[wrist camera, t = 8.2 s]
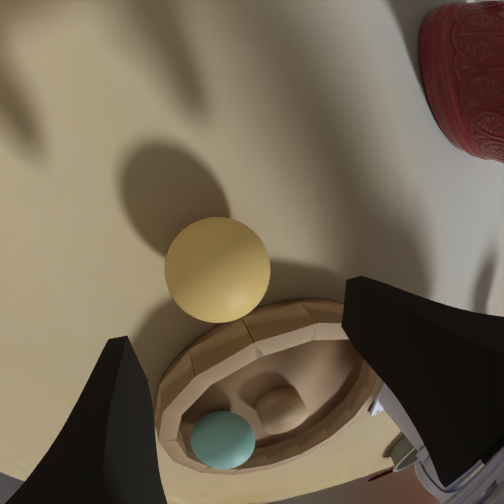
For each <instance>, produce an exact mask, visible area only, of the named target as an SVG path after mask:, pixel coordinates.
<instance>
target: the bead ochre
mask: <svg viewBox="0 0 504 504" xmlns="http://www.w3.org/2000/svg"><path fill="white" fill-rule="evenodd" d="M165 279H166V283H167V287H168V290H169V292H170V294H171V296H172V297H173V299H174V300H175V302H176V303H177V304H178V305H179V306H180V307H181V308H182V309H183V310H184V311H185V312H186V313H188V314H189V315H191V316H193V317H195V318H197V319H199V320H202V321H206V322H212V323H224V322H230V321H233V320H236V319H239V318H241V317H243V316H245V315H246V314H248V313H249V312H250V311H252V310H253V309H254V308H255V307H256V306H257V305H258V304H259V302H260V301H261V299H262V298H263V296H264V294H265V292H266V290H267V287H268V284H269V279H270V260H269V256H268V253H267V250H266V248H265V246H264V244H263V242H262V241H261V239H260V238H259V237H258V235H257V234H256V233H255V232H254V231H253V230H251V229H250V228H249V227H248V226H246V225H245V224H243V223H241V222H239V221H236V220H234V219H230V218H225V217H210V218H205V219H201V220H198V221H196V222H194V223H192V224H190V225H189V226H187V227H186V228H184V229H183V230H182V231H181V232H180V233H179V234H178V235H177V236H176V238H175V239H174V240H173V242H172V244H171V245H170V248H169V250H168V253H167V256H166V260H165Z"/></svg>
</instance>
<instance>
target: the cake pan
mask: <svg viewBox="0 0 504 504" xmlns="http://www.w3.org/2000/svg"><path fill="white" fill-rule="evenodd" d="M417 453H418V451H417V450H416V449H415V447H414V446H413V445H412V444H411V442H410V441H409V440H408V439H407V437H406V436H404V437H403V438H402V439H401V440H400V441H399V442H398V443H397V444H396V446H395V447H394V448H393V450H392V451H391V453H390V455H391V458H392V460H393V463H394V465H395V467H394V468H393V472H397V471H400V470H402V469H404V468H406V467H408V466H410V465H411V464H413V463H414V462H416V460H417V459H418V458H417V456H416V454H417Z"/></svg>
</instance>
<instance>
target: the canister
mask: <svg viewBox="0 0 504 504" xmlns="http://www.w3.org/2000/svg"><path fill="white" fill-rule="evenodd" d="M420 64H421V71H422V77H423V81H424V86H425V90H426V94H427V97H428V100H429V103H430V106H431V109H432V111H433V114H434V116H435V118H436V121H437V123H438V125H439V126H440V128H441V130H442V132H443V133H444V135H445V136H446V137H447V139H448V140H449V141H450V142H451V143H452V144H453V145H454V146H455V147H457V148H459V149H461V150H463V151H465V152H467V153H468V154H470V155H472V156H474V157H479V158H481V159H484V160H496V161H499V162H502V163H504V1H485V2H472V3H464V2H454V3H447V4H444V5H442V6H441V7H440V8H436V9H434V10H432V11H431V12H429V13H428V15H427V16H426V17H425V19H424V22H423V24H422V28H421V33H420Z"/></svg>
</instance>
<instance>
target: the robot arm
mask: <svg viewBox="0 0 504 504" xmlns="http://www.w3.org/2000/svg"><path fill="white" fill-rule="evenodd" d="M341 327H342V328H343V330H344V332H345V333H346V335H347V337H348V338H349V340H350V341H351V343H352V344H353V346H354V348H355V349H356V350H357V351H358V353H359V354H360V355H361V356H362V357H363V358H364V360H365V361H366V362H367V363H368V364H369V366H370V367H371V368H372V369H373V370H374V371H375V373H376V374H377V375H378V376H379V377H380V378H381V379H382V381H383V382H384V384H383V387H382V390H381V391H380V393H379V394H378V395H377V397H376V398H375V401H374V403H373V406H372V408H371V411H370V415H371V416H373V415H375V414H377V413H379V412H381V411H382V410H385V411H386V413H387V414H388V415H389V416H390V418H391V419H392V420H393V421H394V422H395V424H396V425H397V426H398V427H399V429H400V430H401V431H402V432H403V434H404V435H405V436H406V437H407V439H408V440H409V441H410V442H411V444H412V445H413V446H414V447H415V449H416V450H417V451H418V453H417V454H416V456H417V458H418V459H417V460H416V462H415V473H416V475H417V477H418V479H419V480H420V482H421V483H422V485H423V486H424V487H425V488H426V489H427V490H428V491H429V492H430V493H431V494H432V495H434V496H435V497H436V498H437V499H438V500H439V501H440V502H441V504H504V317H500V316H493V315H486V314H480V313H475V312H471V311H467V310H462V309H458V308H454V307H451V306H447V305H444V304H441V303H438V302H435V301H432V300H429V299H426V298H423V297H420V296H417V295H414V294H412V293H409V292H406V291H404V290H401V289H398V288H396V287H393V286H390V285H388V284H385V283H382V282H379V281H376V280H373V279H370V278H367V277H363V276H359V277H355V278H352V279H349V280H347V281H346V291H345V300H344V309H343V317H342V325H341ZM482 463H484V466H483V467H482V468H481V469H480V470H479V472H477V473H476V474H475V475H474V476H473V477H472V478H471V479H470V480H468V481H467V482H466V483H465V484H463V485H462V486H460V487H456V486H458V485H459V484H460V483H461V482H462V481H464V480H465V479H466V478H467V477H468V476H469V475H470V474H471V473H473V472H474V471H475V470H476V469H477V468H478V467H479V466H480V465H481V464H482ZM5 504H167V501H166V498H165V494H164V490H163V487H162V483H161V479H160V473H159V467H158V459H157V450H156V440H155V429H154V417H153V407H152V401H151V396H150V390H149V385H148V380H147V378H146V376H145V374H144V372H143V370H142V368H141V365H140V363H139V361H138V359H137V357H136V355H135V352H134V350H133V348H132V346H131V343H130V341H129V339H128V336H123V337H118V338H112V339H109V340H108V341H107V343H106V345H105V347H104V349H103V351H102V353H101V355H100V357H99V359H98V361H97V363H96V365H95V367H94V369H93V371H92V373H91V375H90V377H89V379H88V381H87V383H86V385H85V387H84V389H83V391H82V393H81V395H80V397H79V399H78V401H77V403H76V405H75V406H74V408H73V410H72V412H71V414H70V416H69V418H68V419H67V421H66V423H65V425H64V426H63V428H62V430H61V431H60V433H59V435H58V436H57V438H56V439H55V441H54V442H53V444H52V446H51V447H50V449H49V450H48V452H47V453H46V454H45V456H44V457H43V458H42V460H41V461H40V462H39V464H38V465H37V467H36V468H35V469H34V471H33V472H32V473H31V475H30V476H29V477H28V478H27V480H26V481H25V482H24V483H23V484H22V486H21V487H20V488H19V489H18V490H17V491H16V492H15V494H14V495H13V496H12V497H11V498H10V499H9V500H8V501H7V502H6V503H5Z"/></svg>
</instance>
